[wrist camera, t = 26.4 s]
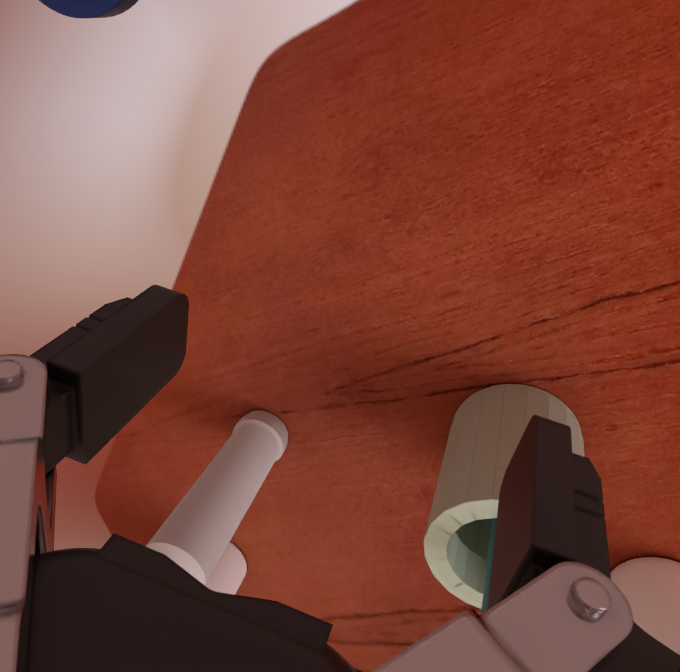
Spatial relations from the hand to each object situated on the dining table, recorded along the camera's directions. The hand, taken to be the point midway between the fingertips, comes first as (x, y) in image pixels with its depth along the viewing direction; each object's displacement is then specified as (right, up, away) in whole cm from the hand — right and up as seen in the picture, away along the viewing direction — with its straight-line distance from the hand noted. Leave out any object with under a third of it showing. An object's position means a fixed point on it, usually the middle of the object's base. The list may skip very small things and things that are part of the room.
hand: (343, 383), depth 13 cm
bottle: (-7, -8, +43) cm, 45 cm away
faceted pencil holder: (+14, -7, +35) cm, 39 cm away
